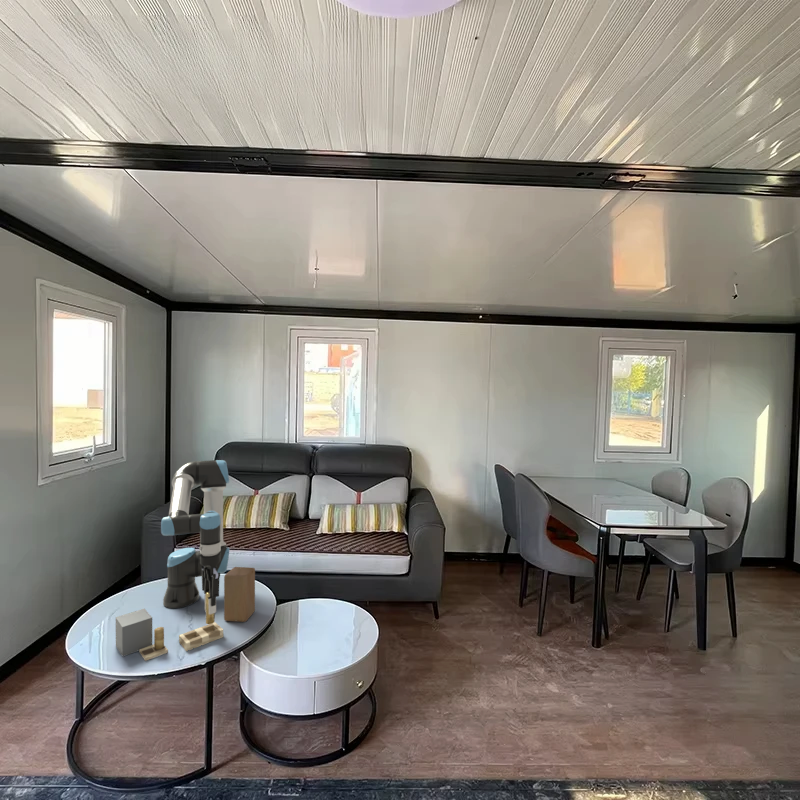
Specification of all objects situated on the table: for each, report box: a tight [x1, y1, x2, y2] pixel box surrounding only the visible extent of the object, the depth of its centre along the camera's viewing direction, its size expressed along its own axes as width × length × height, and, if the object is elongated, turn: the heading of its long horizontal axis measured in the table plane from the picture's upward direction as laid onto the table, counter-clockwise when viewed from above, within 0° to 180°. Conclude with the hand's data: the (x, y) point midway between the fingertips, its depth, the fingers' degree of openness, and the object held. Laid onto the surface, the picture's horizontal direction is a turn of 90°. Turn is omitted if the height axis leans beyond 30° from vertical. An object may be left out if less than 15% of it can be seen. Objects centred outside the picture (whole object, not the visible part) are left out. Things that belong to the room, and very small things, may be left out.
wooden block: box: [223, 566, 256, 623], centre depth 192 cm, size 10×10×20 cm
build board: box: [178, 621, 224, 652], centre depth 174 cm, size 8×14×3 cm, turn 135°
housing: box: [115, 608, 153, 657], centre depth 170 cm, size 10×10×11 cm
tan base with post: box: [138, 626, 169, 662], centre depth 166 cm, size 8×8×8 cm
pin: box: [205, 591, 216, 625], centre depth 176 cm, size 3×3×12 cm
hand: (210, 611), depth 176 cm, fingers closed on pin, 3 cm apart
